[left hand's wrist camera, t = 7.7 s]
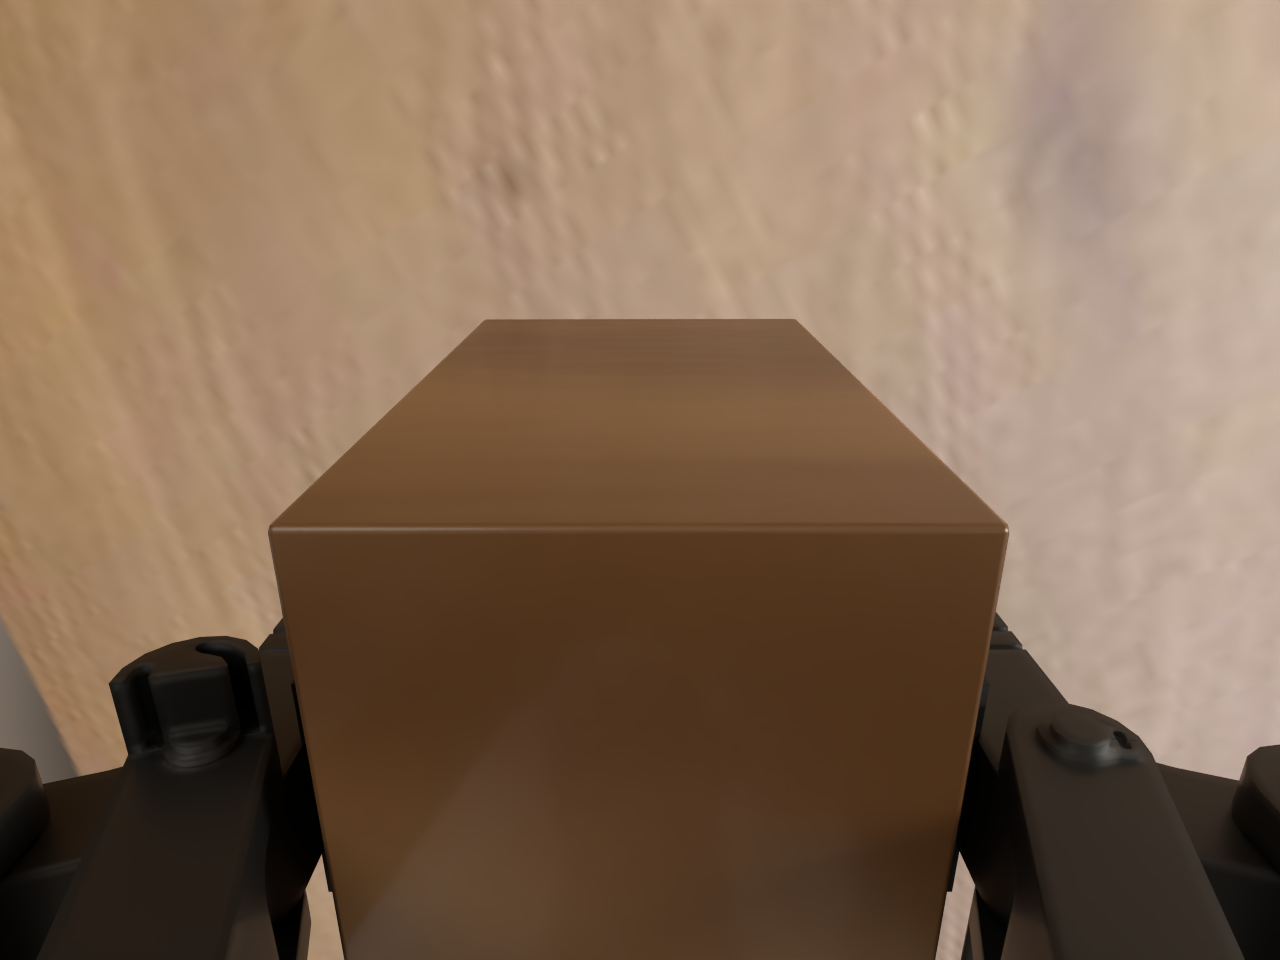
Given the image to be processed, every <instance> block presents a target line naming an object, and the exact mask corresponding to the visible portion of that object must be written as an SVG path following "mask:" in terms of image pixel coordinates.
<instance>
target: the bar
mask: <svg viewBox="0 0 1280 960" xmlns="http://www.w3.org/2000/svg"><path fill="white" fill-rule="evenodd" d="M268 536H269V541H270V547H271V552H272V558H273V563H274V569H275V575H276V580H277V586H278V591H279V597H280V603H281V608H282V614H283V619H284V625H285V630H286V636H287V642H288V647H289V653H290V658H291V664H292V670H293V675H294V681H295V686H296V692H297V697H298V703H299V709H300V714H301V720H302V725H303V731H304V737H305V742H306V748H307V753H308V759H309V764H310V770H311V776H312V781H313V787H314V792H315V798H316V804H317V809H318V815H319V820H320V826H321V831H322V837H323V843H324V848H325V854H326V859H327V865H328V871H329V876H330V882H331V887H332V893H333V898H334V904H335V910H336V915H337V921H338V926H339V932H340V938H341V943H342V949H343V954H344V960H935V957H936V952H937V946H938V940H939V934H940V929H941V923H942V917H943V911H944V906H945V900H946V894H947V888H948V882H949V877H950V871H951V865H952V859H953V854H954V848H955V842H956V836H957V831H958V825H959V819H960V813H961V808H962V802H963V796H964V790H965V785H966V779H967V773H968V767H969V762H970V756H971V750H972V744H973V739H974V733H975V727H976V721H977V716H978V710H979V704H980V698H981V693H982V687H983V681H984V675H985V670H986V664H987V658H988V652H989V647H990V641H991V635H992V629H993V623H994V618H995V612H996V606H997V600H998V595H999V589H1000V583H1001V577H1002V572H1003V566H1004V560H1005V554H1006V549H1007V543H1008V537H1009V528H1008V525H1007V524H1006V523H1005V522H1004V521H1003V520H1002V519H1001V518H1000V517H999V516H998V515H997V514H996V513H995V512H994V511H993V510H992V509H991V508H990V507H989V506H988V505H987V504H986V503H985V502H984V501H983V500H982V499H981V498H980V497H979V496H977V495H976V494H975V493H974V492H973V491H972V490H971V489H970V488H969V487H968V486H967V485H966V484H965V483H964V482H963V481H962V480H961V479H960V478H959V477H958V476H957V475H956V474H955V473H954V472H953V471H952V470H951V469H950V468H949V467H948V466H947V465H946V464H944V463H943V462H942V461H941V460H940V459H939V458H938V457H937V456H936V455H935V454H934V453H933V452H932V451H931V450H930V449H929V448H928V447H927V446H926V445H925V444H924V443H923V442H922V441H921V440H920V439H919V438H918V437H917V436H916V435H915V434H914V433H912V432H911V431H910V430H909V429H908V428H907V427H906V426H905V425H904V424H903V423H902V422H901V421H900V420H899V419H898V418H897V417H896V416H895V415H894V414H893V413H892V412H891V411H890V410H889V409H888V408H887V407H886V406H885V405H884V404H883V403H882V402H881V401H879V400H878V399H877V398H876V397H875V396H874V395H873V394H872V393H871V392H870V391H869V390H868V389H867V388H866V387H865V386H864V385H863V384H862V383H861V382H860V381H859V380H858V379H857V378H856V377H855V376H854V375H853V374H852V373H851V372H850V371H849V370H848V369H846V368H845V367H844V366H843V365H842V364H841V363H840V362H839V361H838V360H837V359H836V358H835V357H834V356H833V355H832V354H831V353H830V352H829V351H828V350H827V349H826V348H825V347H824V346H823V345H822V344H821V343H820V342H819V341H818V340H817V339H816V338H815V337H813V336H812V335H811V334H810V333H809V332H808V331H807V330H806V329H805V328H804V327H803V326H802V325H801V324H800V323H799V322H798V321H797V320H795V319H551V320H485V321H483V322H482V323H481V324H480V325H479V326H478V327H477V328H476V329H475V330H474V331H473V332H472V333H471V334H470V335H469V336H468V337H467V338H466V339H464V340H463V341H462V342H461V343H460V344H459V345H458V346H457V347H456V348H455V349H454V350H453V351H452V352H451V353H450V354H449V355H448V356H447V357H446V358H445V359H444V360H442V361H441V362H440V363H439V364H438V365H437V366H436V367H435V368H434V369H433V370H432V371H431V372H430V373H429V374H428V375H427V376H426V377H425V378H424V379H423V380H422V381H420V382H419V383H418V384H417V385H416V386H415V387H414V388H413V389H412V390H411V391H410V392H409V393H408V394H407V395H406V396H405V397H404V398H403V399H402V400H401V401H400V402H398V403H397V404H396V405H395V406H394V407H393V408H392V409H391V410H390V411H389V412H388V413H387V414H386V415H385V416H384V417H383V418H382V419H381V420H380V421H379V422H378V423H376V424H375V425H374V426H373V427H372V428H371V429H370V430H369V431H368V432H367V433H366V434H365V435H364V436H363V437H362V438H361V439H360V440H359V441H358V442H357V443H355V444H354V445H353V446H352V447H351V448H350V449H349V450H348V451H347V452H346V453H345V454H344V455H343V456H342V457H341V458H340V459H339V460H338V461H337V462H336V463H335V464H333V465H332V466H331V467H330V468H329V469H328V470H327V471H326V472H325V473H324V474H323V475H322V476H321V477H320V478H319V479H318V480H317V481H316V482H315V483H314V484H313V485H311V486H310V487H309V488H308V489H307V490H306V491H305V492H304V493H303V494H302V495H301V496H300V497H299V498H298V499H297V500H296V501H295V502H294V503H293V504H292V505H291V506H289V507H288V508H287V509H286V510H285V511H284V512H283V513H282V514H281V515H280V516H279V517H278V518H277V519H276V520H275V521H274V522H273V523H272V524H271V525H270V527H269V530H268Z"/></svg>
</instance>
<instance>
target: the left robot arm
mask: <svg viewBox="0 0 1280 960" xmlns="http://www.w3.org/2000/svg"><path fill="white" fill-rule="evenodd" d="M109 686H110V690H111V694H112V697H113V701H114V704H115V708H116V712H117V715H118V719H119V722H120V726H121V730H122V733H123V737H124V740H125V744H126V748H127V751H128V757H127V759H126V761H125V763H124V766H123V767H120V768H116V769H112V770H109V771H104V772H99V773H94V774H90V775H85V776H80V777H75V778H70V779H66V780H61V781H56V782H51V783H46V784H42V781H41V778H40V775H39V772H38V769H37V765H36V762H35V760H34V759H33V758H31V757H30V756H29V755H27V754H26V753H25V752H23V751H21V750H13V749H5V748H0V960H307V956H308V947H309V937H310V928H311V918H310V911H309V905H308V900H307V895H306V890H305V889H306V887H307V885H308V882H309V880H310V878H311V876H312V874H313V872H314V869H315V867H316V865H317V863H318V861H319V859H320V856H321V854H322V858H323V863H324V869H325V874H326V880H327V885H328V890H329V892H332V887H331V882H330V876H329V871H328V865H327V859H326V854H325V848H324V843H323V837H322V831H321V826H320V820H319V815H318V809H317V804H316V798H315V792H314V787H313V781H312V776H311V770H310V764H309V759H308V753H307V748H306V742H305V737H304V731H303V725H302V720H301V714H300V709H299V703H298V697H297V692H296V686H295V681H294V675H293V670H292V664H291V658H290V653H289V647H288V642H287V636H286V630H285V625H284V619H283V618H282V619H281V621H280V622H279V623H278V625H277V626H276V627H275V628H274V630H273V634H270V635H269V636H268V637H267V638H266V640H265V641H264V642H263V644H262V645H261V646H260V647H259V650H258V648H256V647H255V646H254V645H252V644H251V643H250V642H248V641H247V640H243V639H239V638H234V637H229V636H213V637H198V638H194V639H189V640H185V641H180V642H175V643H172V644H169V645H166V646H164V647H161V648H159V649H156V650H154V651H151V652H149V653H146V654H144V655H143V656H141V657H139V658H138V659H136V660H135V661H133V662H131V663H130V664H128V665H127V666H125V667H123V668H122V669H121V670H120V672H119V673H118V674H117V675H116V676H115V677H114V678H113V679H112V680H111V682H110V683H109ZM959 851H960V853H961V855H962V857H963V860H964V862H965V864H966V866H967V868H968V870H969V873H970V875H971V877H972V879H973V881H974V883H975V890H974V895H973V900H972V905H971V910H970V915H969V920H968V925H967V930H966V936H965V941H964V946H963V951H962V956H961V960H1280V745H1273V746H1265V747H1259V748H1258V749H1257V750H1255V751H1254V752H1253V753H1251V754H1250V755H1248V756H1247V759H1246V762H1245V765H1244V768H1243V771H1242V774H1241V777H1240V780H1239V781H1237V780H1233V779H1228V778H1223V777H1218V776H1213V775H1208V774H1203V773H1199V772H1194V771H1189V770H1184V769H1179V768H1174V767H1171V766H1167V765H1163V764H1159V763H1156V762H1155V760H1154V758H1153V755H1152V753H1151V752H1150V751H1149V749H1148V748H1147V747H1146V745H1145V744H1144V743H1143V741H1142V740H1141V739H1140V737H1139V736H1137V735H1136V734H1135V733H1133V732H1132V731H1130V730H1129V729H1128V728H1126V727H1125V726H1124V725H1122V724H1121V723H1119V722H1118V721H1116V720H1114V719H1112V718H1110V717H1107V716H1105V715H1103V714H1101V713H1099V712H1096V711H1094V710H1092V709H1088V708H1084V707H1080V706H1076V705H1072V704H1069V703H1068V702H1067V701H1066V700H1065V698H1064V697H1063V696H1062V695H1061V693H1060V692H1059V691H1058V690H1057V688H1056V687H1055V686H1054V684H1053V683H1052V682H1051V681H1050V679H1049V678H1048V677H1047V676H1046V674H1045V673H1044V672H1043V671H1042V669H1041V668H1040V667H1039V666H1038V664H1037V663H1036V662H1035V661H1034V659H1033V658H1032V657H1031V656H1030V654H1029V653H1028V652H1027V650H1023V649H1022V644H1021V643H1020V642H1019V640H1018V639H1017V638H1016V637H1015V635H1014V634H1013V633H1012V632H1011V631H1008V627H1007V625H1006V624H1005V623H1004V622H1003V620H1002V619H1001V618H1000V616H999V615H998V614H997V613H996V612H995V618H994V623H993V629H992V635H991V641H990V647H989V652H988V658H987V664H986V670H985V675H984V681H983V687H982V693H981V698H980V704H979V710H978V716H977V721H976V727H975V733H974V739H973V744H972V750H971V756H970V762H969V767H968V773H967V779H966V785H965V790H964V796H963V802H962V808H961V813H960V819H959V825H958V831H957V836H956V842H955V848H954V854H953V859H952V865H951V871H950V877H949V882H948V888H947V892H952V888H953V883H954V877H955V872H956V866H957V861H958V855H959Z"/></svg>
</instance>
